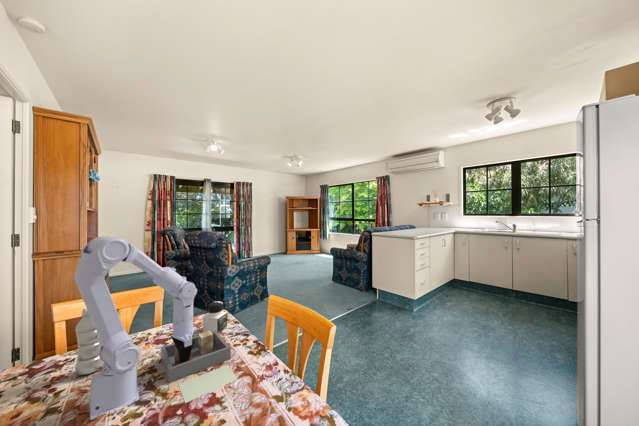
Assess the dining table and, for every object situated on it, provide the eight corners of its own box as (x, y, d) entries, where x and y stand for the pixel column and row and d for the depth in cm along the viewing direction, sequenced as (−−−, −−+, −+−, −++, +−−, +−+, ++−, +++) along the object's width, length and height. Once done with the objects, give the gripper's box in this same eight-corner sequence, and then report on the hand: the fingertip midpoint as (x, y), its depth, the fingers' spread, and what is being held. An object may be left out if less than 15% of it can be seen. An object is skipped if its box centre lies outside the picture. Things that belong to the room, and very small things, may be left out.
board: (185, 405, 62) (185, 402, 62) (178, 386, 69) (178, 384, 69) (238, 380, 71) (238, 378, 71) (227, 366, 78) (227, 364, 78)
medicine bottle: (217, 335, 98) (217, 306, 99) (202, 334, 100) (202, 305, 100) (227, 327, 105) (227, 300, 106) (213, 326, 107) (213, 299, 107)
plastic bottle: (105, 371, 76) (106, 308, 76) (74, 381, 71) (75, 314, 71) (103, 362, 80) (103, 303, 81) (74, 372, 75) (75, 308, 76)
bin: (168, 385, 69) (168, 369, 69) (160, 360, 81) (160, 347, 81) (230, 360, 81) (230, 347, 81) (215, 342, 93) (215, 330, 93)
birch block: (201, 355, 83) (201, 338, 83) (198, 350, 86) (198, 333, 86) (213, 351, 86) (213, 334, 86) (209, 346, 89) (209, 330, 89)
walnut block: (177, 370, 75) (177, 351, 75) (174, 364, 78) (175, 345, 78) (191, 365, 77) (191, 346, 78) (188, 359, 80) (188, 341, 81)
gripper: (202, 321, 75) (202, 364, 75) (191, 308, 86) (191, 346, 86) (177, 328, 70) (176, 374, 70) (168, 313, 81) (168, 353, 81)
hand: (183, 359), depth 78 cm, fingers closed on walnut block, 4 cm apart
